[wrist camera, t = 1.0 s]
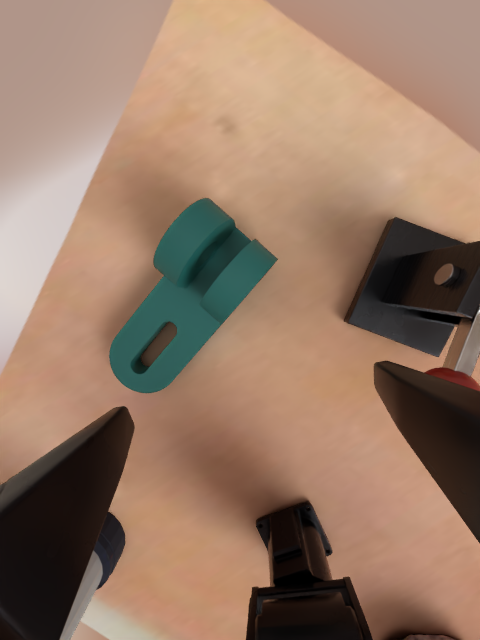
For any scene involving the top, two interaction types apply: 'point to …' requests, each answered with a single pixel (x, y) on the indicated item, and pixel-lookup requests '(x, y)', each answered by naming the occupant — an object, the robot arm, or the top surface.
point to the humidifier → (96, 570)
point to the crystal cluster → (427, 637)
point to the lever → (462, 354)
